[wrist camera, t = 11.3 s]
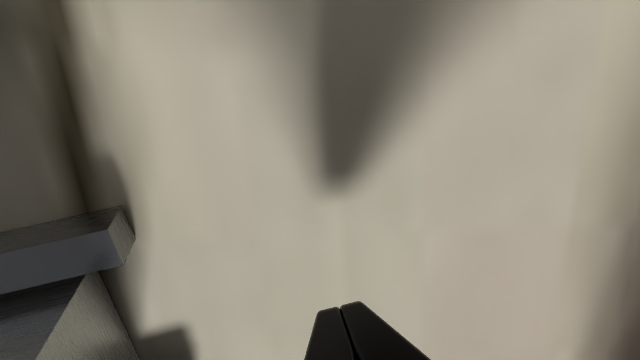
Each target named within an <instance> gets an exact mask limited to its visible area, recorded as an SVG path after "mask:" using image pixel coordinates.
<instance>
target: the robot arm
mask: <svg viewBox="0 0 640 360" xmlns="http://www.w3.org/2000/svg"><path fill="white" fill-rule="evenodd" d="M304 360H431V359H429V358H428V357H427V356H426V355H425V354H423V353H422V352H421V351H420V350H419V349H417V348H416V347H415V346H414V345H413V344H411V343H410V342H409V341H408V340H407V339H405V338H404V337H403V336H402V335H401V334H399V333H398V332H397V331H396V330H395V329H393V328H392V327H391V326H390V325H389V324H387V323H386V322H385V321H384V320H383V319H381V318H380V317H379V316H378V315H377V314H375V313H374V312H373V311H372V310H370V309H369V308H368V307H367V306H366V305H364V304H363V303H362V302H360V301H357V302H353V303H349V304H345V305H342V306H341V307H340V309H339V308H338V307H333V308H329V309H325V310H321V311H319V312H318V313H317V316H316V319H315V323H314V327H313V330H312V334H311V337H310V341H309V344H308V348H307V351H306V355H305V359H304Z"/></svg>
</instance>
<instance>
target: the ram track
mask: <svg viewBox="0 0 640 360" xmlns="http://www.w3.org/2000/svg"><path fill="white" fill-rule="evenodd" d="M135 239H136V238H135V236H134V234H133V231H132V229H131V226H130V224H129V222H128V219H127V217H126V214H125V212H124V210H123V207H122V206H119V207H115V208H110V209H106V210H101V211H97V212H93V213H88V214H84V215H79V216H75V217H70V218H66V219H61V220H57V221H53V222H48V223H44V224H39V225H35V226H30V227H26V228H22V229H17V230H13V231H8V232H4V233H0V294H4V293H8V292H12V291H17V290H21V289H25V288H29V287H34V286H38V285H42V284H46V283H51V282H55V281H59V280H63V279H67V278H72V277H76V276H80V275H84V274H89V273H93V272H97V271H101V270H106V269H110V268H114V267H118V266H123V265H124V263H125V260H126V258H127V256H128V254H129V252H130V250H131V248H132V246H133V243H134V241H135Z"/></svg>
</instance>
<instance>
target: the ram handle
mask: <svg viewBox="0 0 640 360" xmlns="http://www.w3.org/2000/svg"><path fill="white" fill-rule="evenodd" d="M0 360H140V359H139V357H138V355H137V353H136V350H135V348H134V346H133V344H132V342H131V340H130V338H129V336H128V334H127V331H126V329H125V327H124V325H123V323H122V321H121V319H120V317H119V315H118V312H117V310H116V308H115V306H114V304H113V302H112V300H111V298H110V296H109V293H108V291H107V289H106V287H105V285H104V283H103V281H102V279H101V277H100V274H99V272H98V271H97V272H93V273H89V274H84V275H80V276H76V277H72V278H67V279H63V280H59V281H55V282H51V283H46V284H42V285H38V286H34V287H29V288H25V289H21V290H17V291H12V292H8V293H4V294H0Z"/></svg>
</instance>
